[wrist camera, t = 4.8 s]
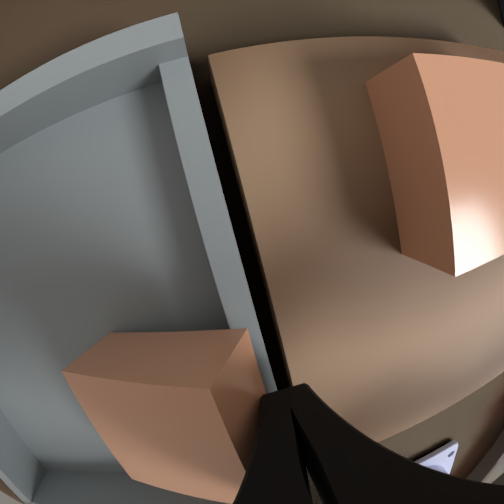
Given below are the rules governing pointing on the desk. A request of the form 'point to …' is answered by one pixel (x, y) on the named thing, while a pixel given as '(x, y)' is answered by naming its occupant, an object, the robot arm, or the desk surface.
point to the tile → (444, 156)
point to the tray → (104, 247)
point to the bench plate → (349, 235)
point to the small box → (502, 7)
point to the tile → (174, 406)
